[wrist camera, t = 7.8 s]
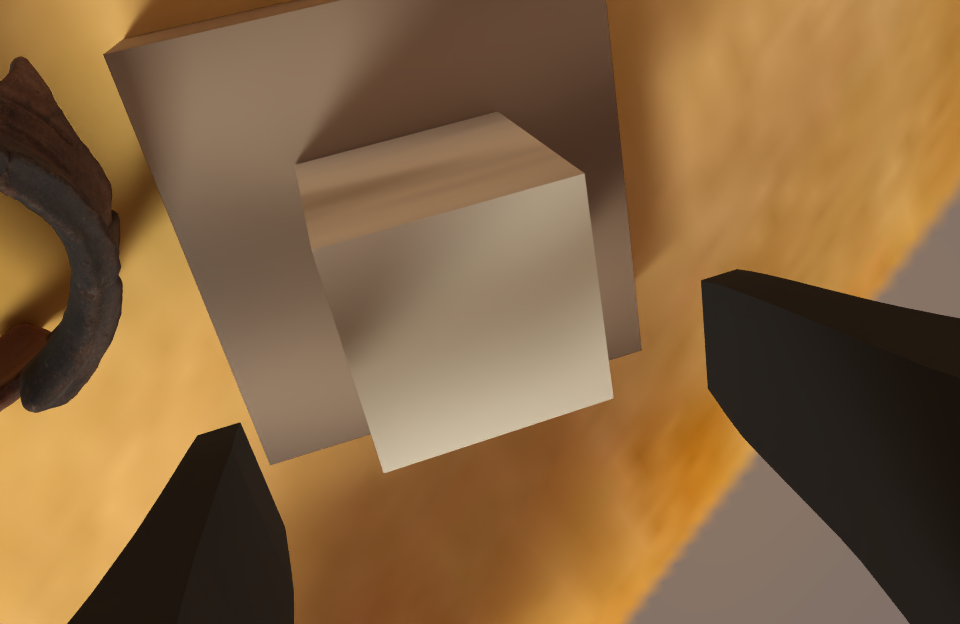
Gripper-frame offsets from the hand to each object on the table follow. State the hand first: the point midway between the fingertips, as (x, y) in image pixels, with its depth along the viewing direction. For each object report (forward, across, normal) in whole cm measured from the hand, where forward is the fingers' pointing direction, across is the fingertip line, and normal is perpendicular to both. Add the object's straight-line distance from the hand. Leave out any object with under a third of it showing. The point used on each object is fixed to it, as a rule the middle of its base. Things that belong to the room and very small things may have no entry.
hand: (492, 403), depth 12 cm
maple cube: (+7, 0, 0) cm, 7 cm away
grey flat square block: (+10, 0, 0) cm, 10 cm away
